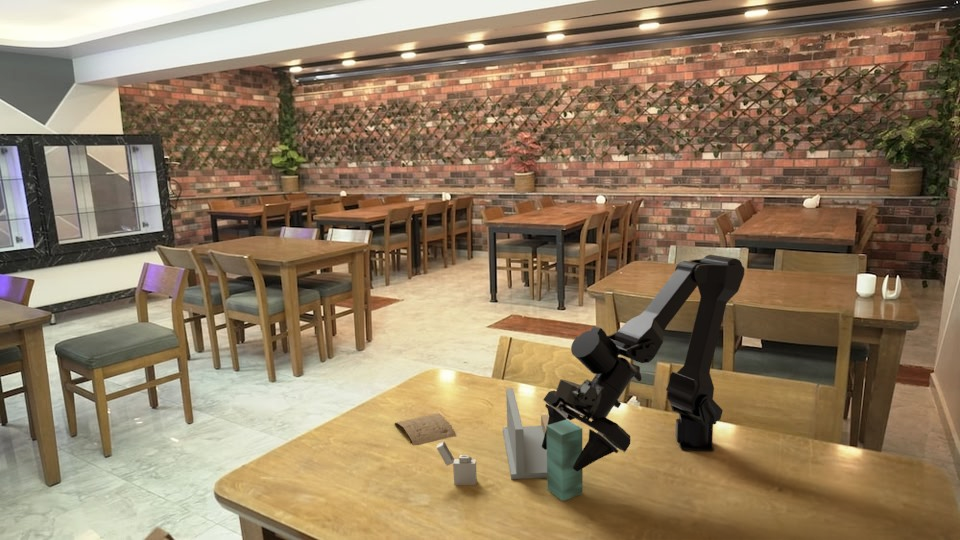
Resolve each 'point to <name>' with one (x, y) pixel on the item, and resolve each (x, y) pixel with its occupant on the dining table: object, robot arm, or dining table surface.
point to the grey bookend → (524, 443)
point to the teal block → (564, 459)
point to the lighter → (459, 466)
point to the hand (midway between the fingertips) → (558, 458)
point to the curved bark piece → (428, 429)
